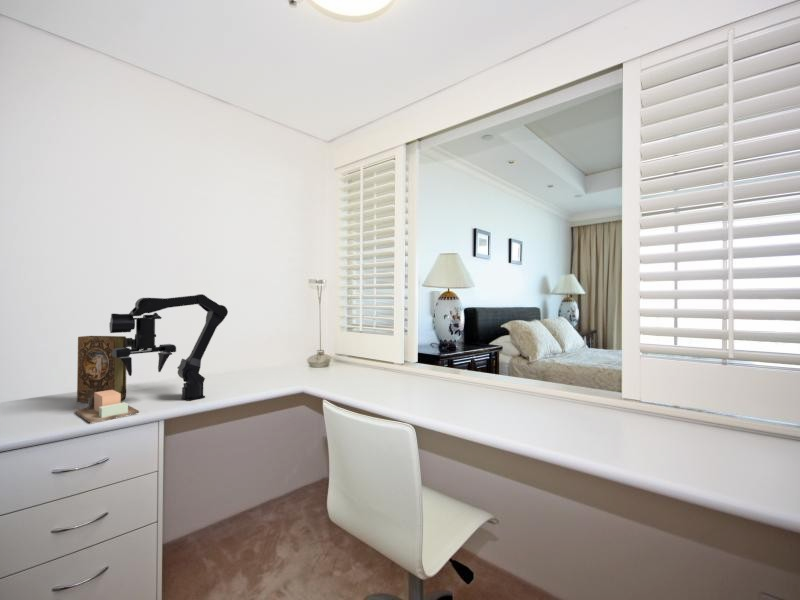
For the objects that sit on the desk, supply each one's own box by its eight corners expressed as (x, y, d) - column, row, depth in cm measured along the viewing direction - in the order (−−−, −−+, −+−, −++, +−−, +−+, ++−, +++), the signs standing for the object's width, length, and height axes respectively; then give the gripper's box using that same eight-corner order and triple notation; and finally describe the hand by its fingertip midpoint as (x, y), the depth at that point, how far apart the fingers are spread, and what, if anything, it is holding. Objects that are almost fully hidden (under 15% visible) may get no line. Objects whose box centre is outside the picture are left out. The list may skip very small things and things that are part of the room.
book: (74, 402, 136) (75, 337, 137) (88, 398, 142) (88, 335, 142) (113, 404, 135) (114, 337, 135) (126, 400, 140) (126, 336, 140)
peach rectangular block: (112, 406, 128) (112, 389, 128) (120, 411, 123) (120, 393, 123) (94, 409, 124) (94, 392, 124) (102, 414, 119) (102, 396, 119)
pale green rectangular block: (124, 410, 123) (124, 402, 123) (127, 412, 121) (127, 403, 121) (98, 416, 118) (99, 406, 118) (101, 417, 116) (101, 408, 116)
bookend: (111, 403, 132) (112, 392, 132) (114, 405, 130) (114, 393, 130) (87, 408, 126) (87, 396, 126) (89, 409, 125) (89, 398, 125)
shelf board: (121, 404, 134) (121, 401, 134) (138, 413, 123) (138, 410, 123) (75, 412, 124) (75, 410, 124) (90, 423, 113) (90, 420, 113)
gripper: (165, 329, 145) (164, 367, 145) (107, 331, 130) (106, 375, 130) (176, 330, 138) (176, 371, 138) (117, 333, 123) (116, 379, 123)
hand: (145, 373), depth 132 cm, fingers open, 9 cm apart
